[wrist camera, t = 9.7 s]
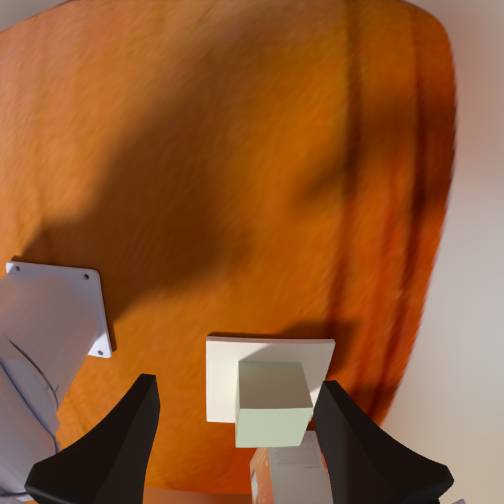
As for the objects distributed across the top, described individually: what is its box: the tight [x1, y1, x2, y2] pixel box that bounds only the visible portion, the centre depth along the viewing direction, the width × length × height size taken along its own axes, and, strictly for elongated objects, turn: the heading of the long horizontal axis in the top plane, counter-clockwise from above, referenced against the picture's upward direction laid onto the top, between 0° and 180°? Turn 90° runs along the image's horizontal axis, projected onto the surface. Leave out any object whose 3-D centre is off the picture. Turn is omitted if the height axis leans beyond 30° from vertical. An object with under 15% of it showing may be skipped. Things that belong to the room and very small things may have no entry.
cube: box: [235, 361, 314, 447], centre depth 22 cm, size 5×5×5 cm
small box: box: [250, 431, 333, 504], centre depth 24 cm, size 8×6×10 cm
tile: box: [206, 336, 336, 423], centre depth 24 cm, size 10×10×1 cm
